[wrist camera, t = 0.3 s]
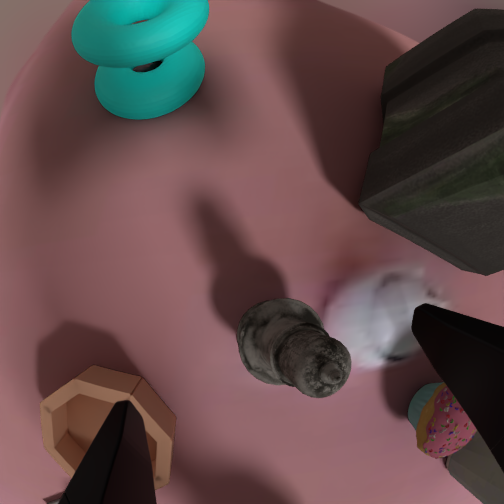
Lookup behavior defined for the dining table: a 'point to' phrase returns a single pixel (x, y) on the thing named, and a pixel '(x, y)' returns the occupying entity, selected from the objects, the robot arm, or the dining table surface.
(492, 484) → the disposable coffee cup
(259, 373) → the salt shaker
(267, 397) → the dining table surface
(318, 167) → the dining table surface
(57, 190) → the dining table surface
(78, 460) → the bowl
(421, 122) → the bottle
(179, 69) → the donuts
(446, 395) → the cupcake
